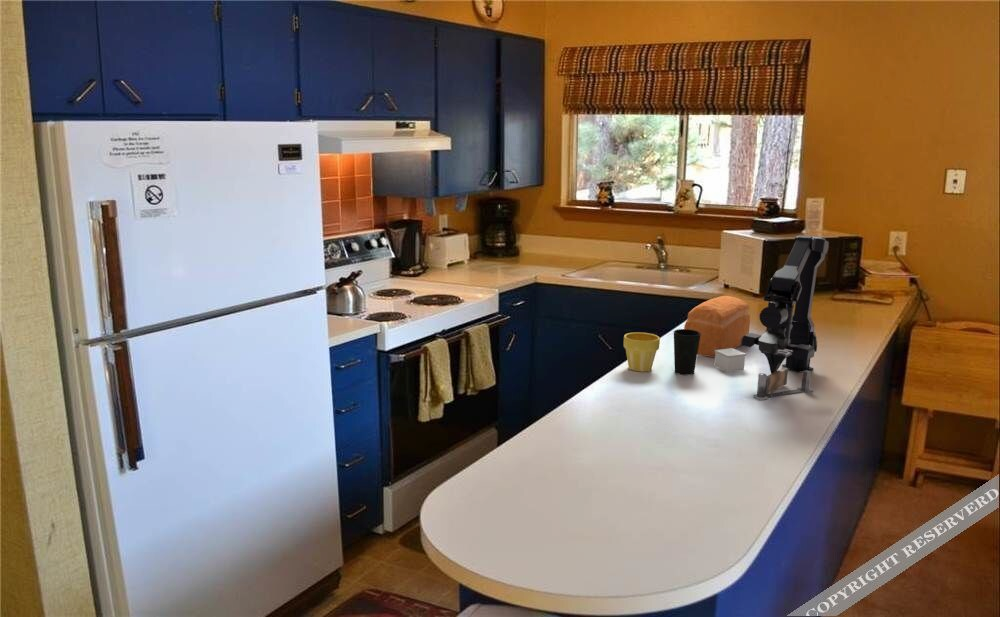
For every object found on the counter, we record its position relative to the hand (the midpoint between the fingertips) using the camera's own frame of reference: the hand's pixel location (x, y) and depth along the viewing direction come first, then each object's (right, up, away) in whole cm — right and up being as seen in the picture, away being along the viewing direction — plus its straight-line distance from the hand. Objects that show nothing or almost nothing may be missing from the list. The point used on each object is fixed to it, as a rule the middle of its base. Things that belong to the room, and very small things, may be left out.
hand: (773, 376), depth 226 cm
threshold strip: (+1, -5, -4) cm, 6 cm away
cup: (-21, 0, +13) cm, 25 cm away
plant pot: (-34, +1, +16) cm, 38 cm away
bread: (-5, +6, +41) cm, 41 cm away
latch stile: (+8, -4, -1) cm, 9 cm away
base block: (-7, +1, +18) cm, 19 cm away
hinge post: (-6, -5, -8) cm, 11 cm away
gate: (0, -3, -2) cm, 4 cm away
